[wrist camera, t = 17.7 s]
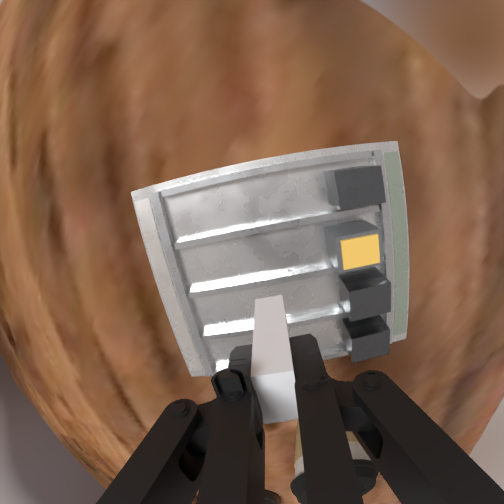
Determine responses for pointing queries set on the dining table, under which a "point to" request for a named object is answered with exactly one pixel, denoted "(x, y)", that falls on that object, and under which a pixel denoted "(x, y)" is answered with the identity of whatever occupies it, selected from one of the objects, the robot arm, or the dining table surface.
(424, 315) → the dining table surface
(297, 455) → the coffee cup
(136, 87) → the dining table surface
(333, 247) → the toggle
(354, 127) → the dining table surface
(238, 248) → the panel
